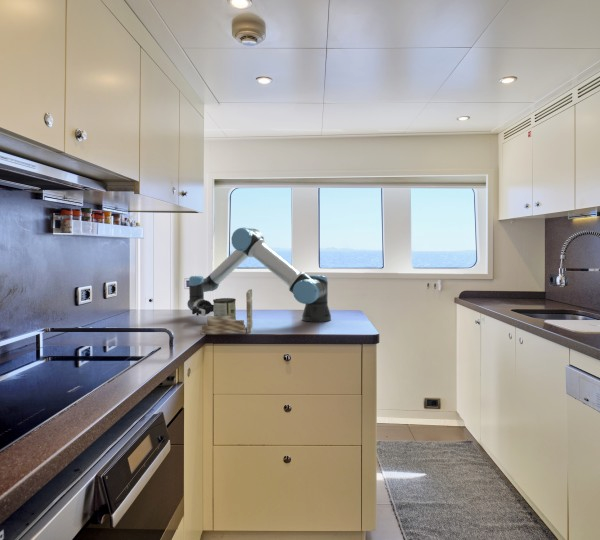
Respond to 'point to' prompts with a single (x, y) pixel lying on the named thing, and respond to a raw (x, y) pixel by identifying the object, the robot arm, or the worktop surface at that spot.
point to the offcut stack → (223, 323)
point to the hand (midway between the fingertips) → (218, 311)
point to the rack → (249, 318)
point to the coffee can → (224, 307)
